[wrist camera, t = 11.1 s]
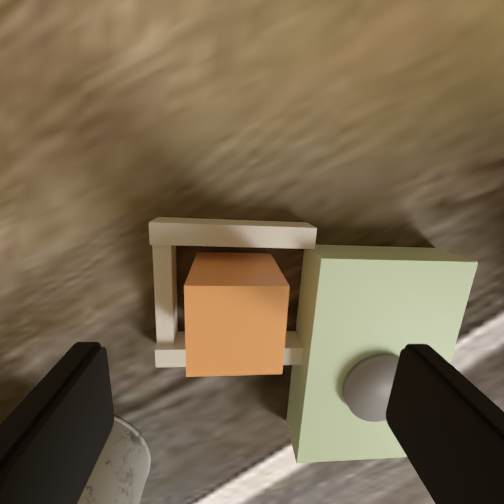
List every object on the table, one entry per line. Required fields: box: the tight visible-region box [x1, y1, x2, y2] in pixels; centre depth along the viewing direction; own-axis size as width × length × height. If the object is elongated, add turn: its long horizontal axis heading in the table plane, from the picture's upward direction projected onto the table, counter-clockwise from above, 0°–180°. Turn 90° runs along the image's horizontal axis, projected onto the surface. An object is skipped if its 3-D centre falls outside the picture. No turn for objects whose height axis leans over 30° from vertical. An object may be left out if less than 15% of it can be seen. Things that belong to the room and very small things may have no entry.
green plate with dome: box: [149, 217, 478, 463], centre depth 17 cm, size 15×18×4 cm
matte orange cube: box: [184, 252, 290, 377], centre depth 15 cm, size 5×5×6 cm
